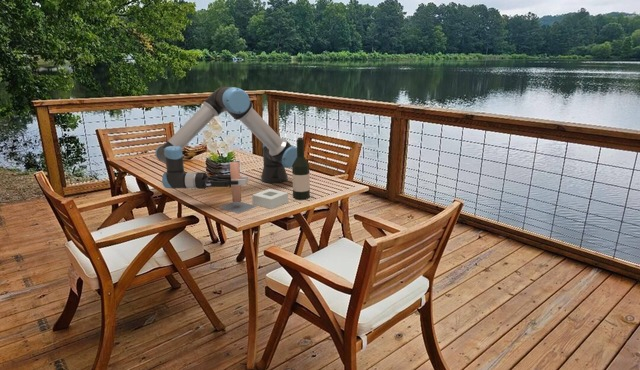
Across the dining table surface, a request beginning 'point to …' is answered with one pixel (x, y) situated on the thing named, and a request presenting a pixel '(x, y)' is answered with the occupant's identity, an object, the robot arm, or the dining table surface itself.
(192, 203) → the dining table surface
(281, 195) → the socket block
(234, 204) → the mat
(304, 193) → the wine bottle
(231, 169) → the dowel
